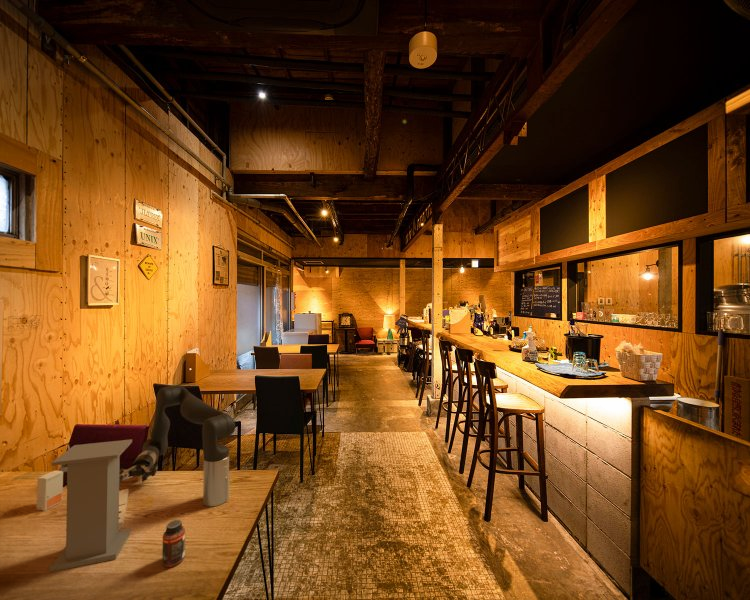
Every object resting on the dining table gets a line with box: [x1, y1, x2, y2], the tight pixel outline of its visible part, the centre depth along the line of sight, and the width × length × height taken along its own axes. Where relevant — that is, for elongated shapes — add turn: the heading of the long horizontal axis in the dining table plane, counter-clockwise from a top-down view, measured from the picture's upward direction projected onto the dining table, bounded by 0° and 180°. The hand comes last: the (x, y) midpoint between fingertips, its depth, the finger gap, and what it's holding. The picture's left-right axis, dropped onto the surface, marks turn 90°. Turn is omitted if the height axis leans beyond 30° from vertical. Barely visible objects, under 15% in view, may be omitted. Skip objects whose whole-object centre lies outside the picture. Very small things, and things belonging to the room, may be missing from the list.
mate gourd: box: [58, 444, 71, 488], centre depth 142 cm, size 8×8×15 cm
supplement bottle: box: [161, 519, 186, 568], centre depth 101 cm, size 6×6×11 cm
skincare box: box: [36, 470, 64, 511], centre depth 127 cm, size 6×4×12 cm
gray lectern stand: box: [49, 439, 133, 573], centre depth 104 cm, size 16×12×32 cm
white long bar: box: [118, 488, 130, 530], centre depth 124 cm, size 3×24×3 cm, turn 33°
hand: (130, 481), depth 134 cm, fingers open, 8 cm apart
